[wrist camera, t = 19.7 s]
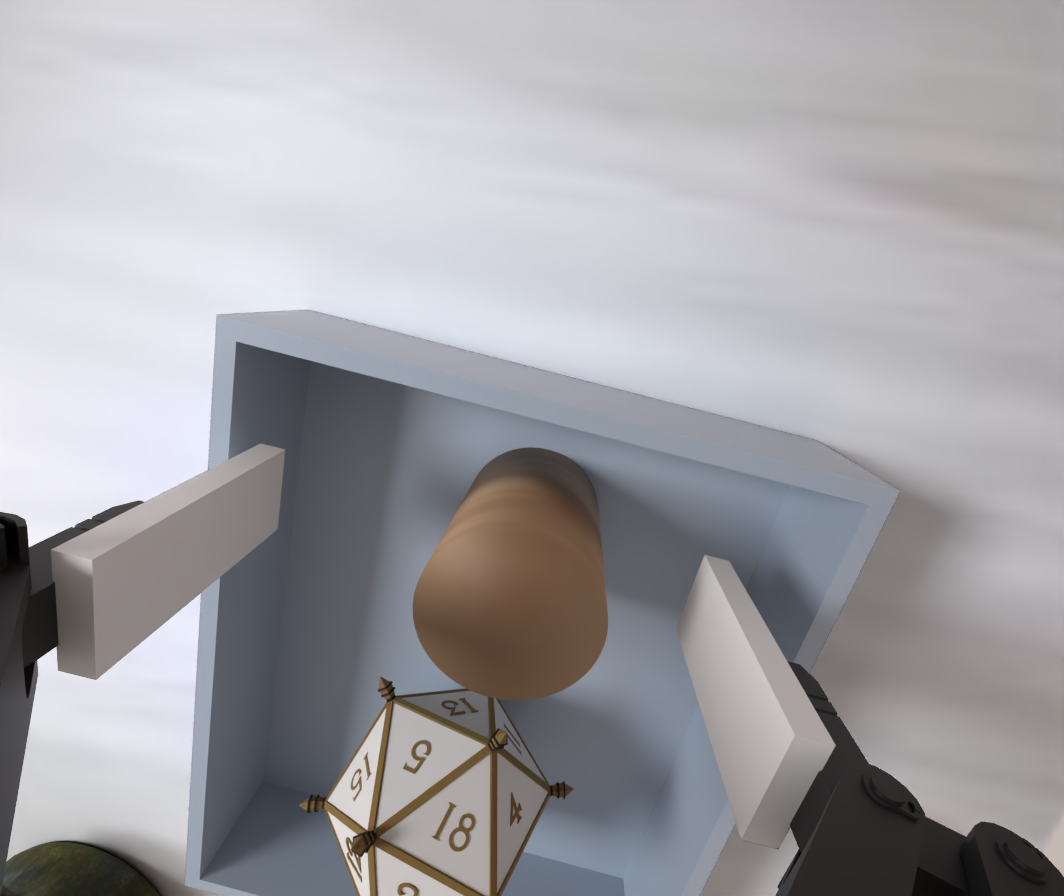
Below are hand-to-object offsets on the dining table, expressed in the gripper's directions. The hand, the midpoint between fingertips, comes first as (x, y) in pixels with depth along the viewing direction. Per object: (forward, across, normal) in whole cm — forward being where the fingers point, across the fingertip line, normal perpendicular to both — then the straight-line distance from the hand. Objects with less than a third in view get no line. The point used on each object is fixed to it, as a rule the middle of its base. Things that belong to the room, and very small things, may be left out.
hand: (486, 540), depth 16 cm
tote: (+4, +1, -7) cm, 8 cm away
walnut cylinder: (+4, +1, 0) cm, 4 cm away
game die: (+4, +1, -11) cm, 11 cm away
